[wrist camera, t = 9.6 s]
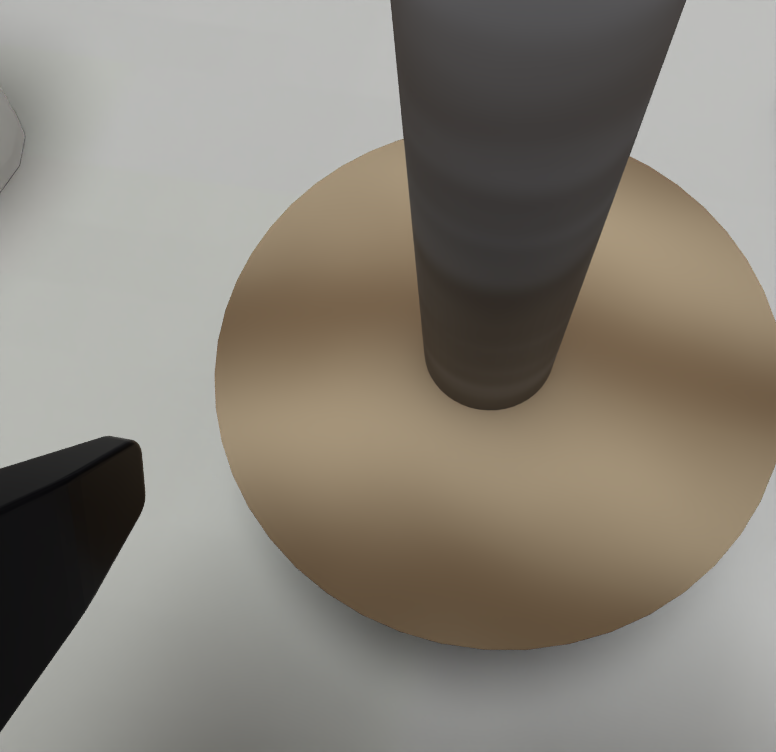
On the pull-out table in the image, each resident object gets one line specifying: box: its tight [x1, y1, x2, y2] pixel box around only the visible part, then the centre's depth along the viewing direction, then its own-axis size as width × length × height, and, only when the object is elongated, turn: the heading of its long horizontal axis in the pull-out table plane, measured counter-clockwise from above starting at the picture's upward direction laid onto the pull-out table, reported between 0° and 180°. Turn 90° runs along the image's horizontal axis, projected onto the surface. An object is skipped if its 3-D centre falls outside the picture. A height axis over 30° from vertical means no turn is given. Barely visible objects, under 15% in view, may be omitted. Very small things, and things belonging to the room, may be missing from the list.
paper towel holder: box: [215, 0, 776, 650], centre depth 11 cm, size 13×13×12 cm
